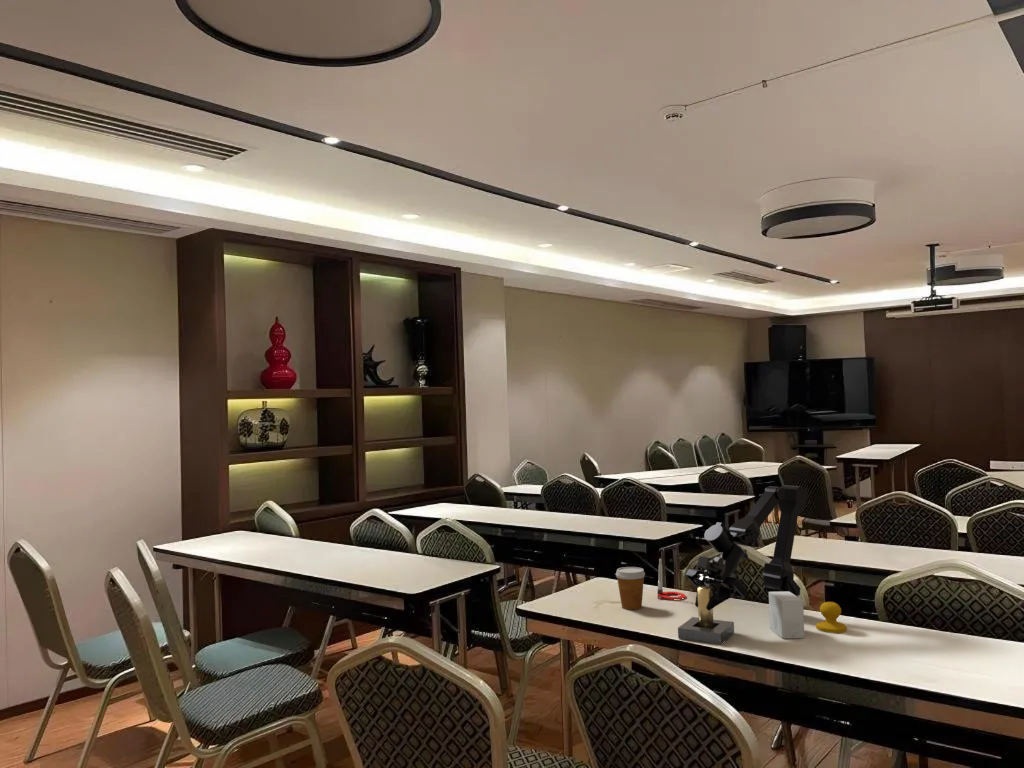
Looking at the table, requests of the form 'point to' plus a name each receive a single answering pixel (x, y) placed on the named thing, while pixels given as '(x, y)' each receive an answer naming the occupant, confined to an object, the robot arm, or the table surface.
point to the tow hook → (660, 591)
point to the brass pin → (705, 607)
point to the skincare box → (786, 614)
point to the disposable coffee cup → (630, 586)
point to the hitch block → (706, 631)
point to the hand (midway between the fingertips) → (701, 607)
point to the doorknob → (831, 619)
